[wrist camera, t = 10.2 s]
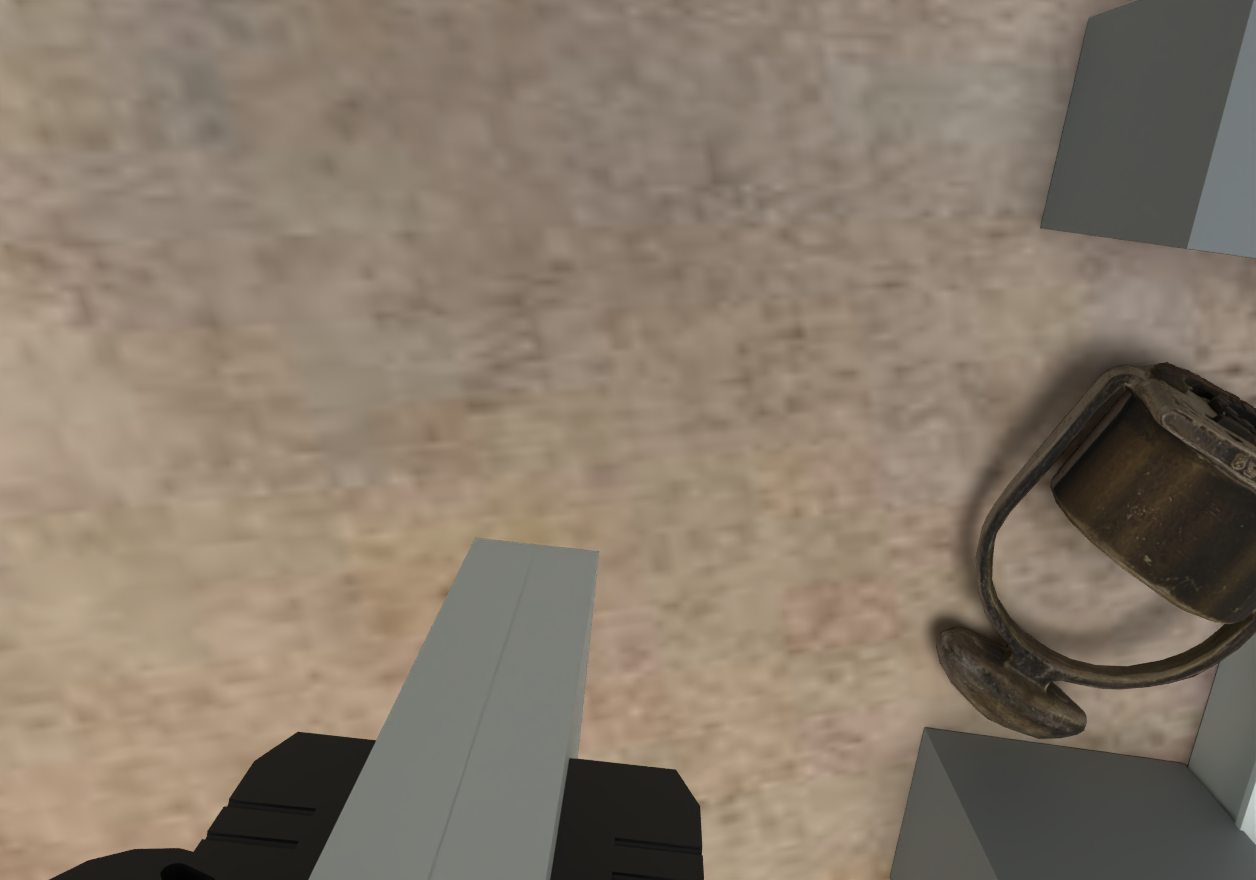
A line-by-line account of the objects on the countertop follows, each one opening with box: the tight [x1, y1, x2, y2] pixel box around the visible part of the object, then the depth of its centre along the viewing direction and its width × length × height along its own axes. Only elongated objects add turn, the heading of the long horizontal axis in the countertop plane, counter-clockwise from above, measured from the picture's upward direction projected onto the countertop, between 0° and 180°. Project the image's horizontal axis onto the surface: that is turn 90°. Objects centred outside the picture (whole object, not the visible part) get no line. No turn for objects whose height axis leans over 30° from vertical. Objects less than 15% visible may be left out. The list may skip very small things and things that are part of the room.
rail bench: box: [890, 0, 1256, 880], centre depth 29 cm, size 30×11×9 cm, turn 172°
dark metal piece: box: [936, 362, 1256, 739], centre depth 31 cm, size 7×13×10 cm
